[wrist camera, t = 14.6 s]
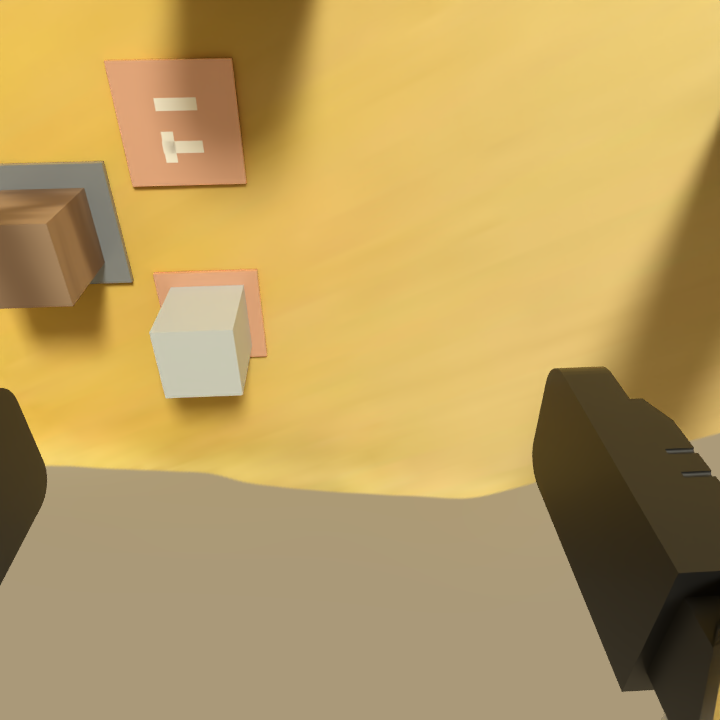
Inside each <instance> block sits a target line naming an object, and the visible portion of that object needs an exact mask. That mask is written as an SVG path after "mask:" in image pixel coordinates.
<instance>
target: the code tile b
mask: <svg viewBox="0 0 720 720" xmlns="http://www.w3.org/2000/svg"><path fill="white" fill-rule="evenodd" d="M153 276H154V281H155V285H156V289H157V294H158V298H159V302H160V307H162V305H163V303H164V301H165V298H166V296H167V294H168V292H169V290H170V288H171V287H195V286H226V285H244V290H245V298H246V305H247V312H248V320H249V327H250V335H251V342H252V348H251V354H250V357H259V356H267V348H266V339H265V331H264V323H263V314H262V306H261V297H260V289H259V281H258V272H257V269H249V270H217V271H185V272H154V274H153Z"/></svg>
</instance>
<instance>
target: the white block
mask: <svg viewBox="0 0 720 720" xmlns="http://www.w3.org/2000/svg"><path fill="white" fill-rule="evenodd" d="M150 337H151V341H152V345H153V349H154V353H155V358H156V362H157V366H158V370H159V374H160V378H161V382H162V386H163V390H164V394H165V398H184V397H209V396H234V395H243V391H244V386H245V381H246V375H247V370H248V364H249V359H250V354H251V348H252V342H251V335H250V327H249V320H248V312H247V305H246V298H245V290H244V285H226V286H195V287H171V288H170V290H169V292H168V294H167V296H166V298H165V301H164V303H163V305H162V307H161V309H160V311H159V313H158V315H157V318H156V320H155V322H154V324H153V326H152V328H151V330H150Z"/></svg>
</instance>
